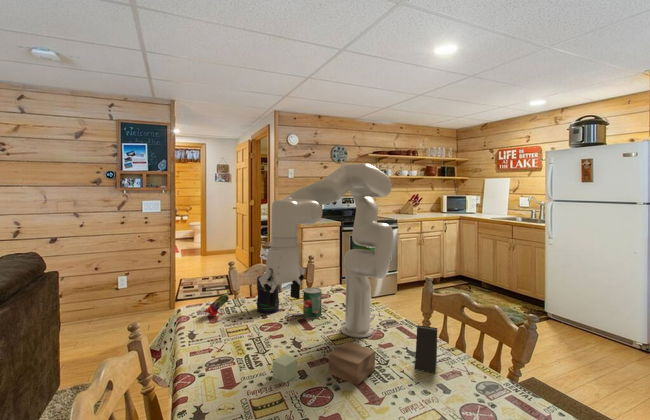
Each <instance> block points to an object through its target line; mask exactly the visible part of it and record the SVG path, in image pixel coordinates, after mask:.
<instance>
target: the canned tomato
mask: <svg viewBox="0 0 650 420" xmlns="http://www.w3.org/2000/svg"><path fill="white" fill-rule="evenodd" d="M302 291H303V296H302V297H303V300H302V304H303V305H302V306H303V311H302V312H303V315H302V316H303V317H305V318H306V319H319V318H321V317H322V306H323V305H322V300H323V299H322V297H323V295H322V289H321V288H319V287H314V286H313V287H307V288H304V289H303V290H302Z"/></svg>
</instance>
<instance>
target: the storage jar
mask: <svg viewBox="0 0 650 420" xmlns="http://www.w3.org/2000/svg"><path fill="white" fill-rule="evenodd" d="M262 275H263V274H262ZM262 275H259V276H257V277H256V280H257V281H256V291H257V298H256V312H257V313H258V314H260V315H273V314H276V313H278V312H279V310H280V309H279V308H280V298H279V290H280V284H279V285H277V286H276V288H275V290H274V292H275V306H274V307H271V306H269V305H266V291H264V289H263V288H262V287H261V283H260V281H259V278H260V277H261V276H262ZM267 283H268V282H267ZM272 285H273V284H271V286H272ZM271 286H270V287H271Z"/></svg>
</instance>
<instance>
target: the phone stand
mask: <svg viewBox="0 0 650 420" xmlns="http://www.w3.org/2000/svg"><path fill="white" fill-rule="evenodd" d="M414 356H415V359H414V370H416V369H418V370H417V371H421V370H424V371H423V372H426V371H429V372H428V373H431V372H435V373H436V369H437V362H436V361H438V357H437V356H438V327H433V326H428V325H427V326H425V325H420V324H419V325H418V324H417V326H416V342H415V355H414Z"/></svg>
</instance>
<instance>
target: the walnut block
mask: <svg viewBox="0 0 650 420" xmlns="http://www.w3.org/2000/svg"><path fill="white" fill-rule="evenodd" d="M375 367H376V350H374V349H371V348H368V347H365V346H362V345H358V344H356V343H353V342H351V341H350V342H349V341H346V342H344V343H343V344H342V345H340V346H338V347H336V348H335V349H333V350H332V351H331V352H329V353H328V367H327V368H328V373H327V374H329V375H332V376H335V377H337V378H339V379H342V380H343V381H346V382H349V383H351V384H354V385H355V386H359V384H361V383H362V382H363V381H364V380H365V379H366V378H368V377H369V375H371V374H372V373H374V371H376V368H375Z"/></svg>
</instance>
